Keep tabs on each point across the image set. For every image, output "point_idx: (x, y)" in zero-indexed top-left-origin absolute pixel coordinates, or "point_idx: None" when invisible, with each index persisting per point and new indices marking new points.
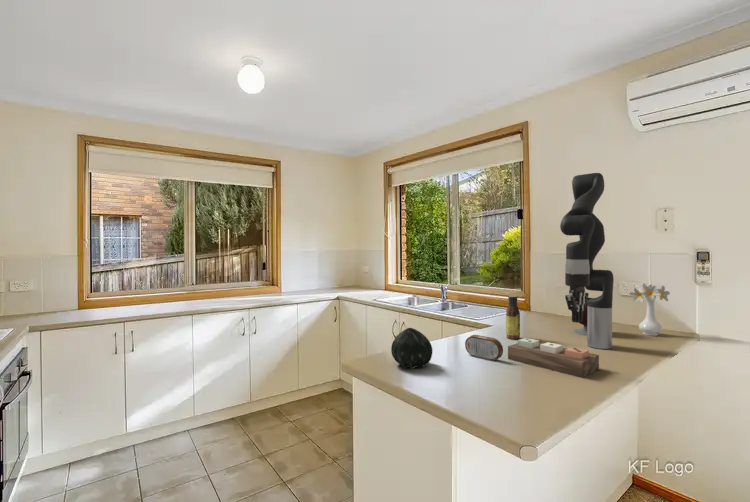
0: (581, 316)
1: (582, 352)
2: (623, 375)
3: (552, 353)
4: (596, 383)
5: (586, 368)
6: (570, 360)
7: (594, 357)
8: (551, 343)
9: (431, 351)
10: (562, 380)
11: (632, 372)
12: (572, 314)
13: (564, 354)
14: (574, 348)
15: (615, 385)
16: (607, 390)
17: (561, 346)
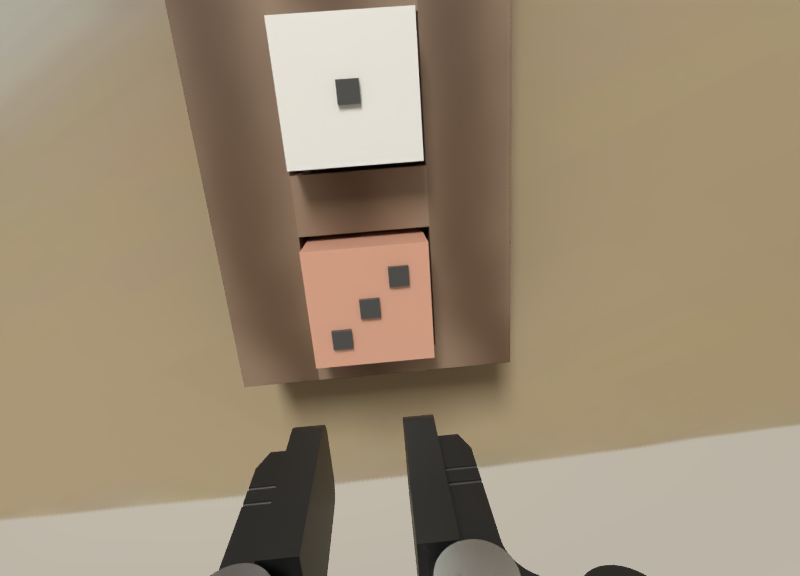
0: (415, 551)
1: (340, 360)
2: (479, 430)
3: (271, 157)
4: (253, 418)
5: None
6: (231, 322)
7: (437, 367)
8: (400, 58)
9: None
10: (137, 312)
11: (561, 432)
12: (234, 538)
13: (325, 226)
14: (388, 281)
15: None
16: (210, 478)
17: (400, 161)
